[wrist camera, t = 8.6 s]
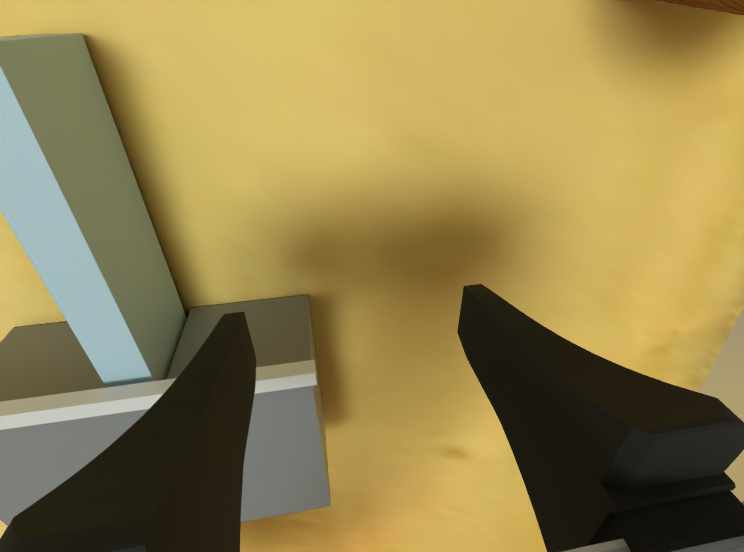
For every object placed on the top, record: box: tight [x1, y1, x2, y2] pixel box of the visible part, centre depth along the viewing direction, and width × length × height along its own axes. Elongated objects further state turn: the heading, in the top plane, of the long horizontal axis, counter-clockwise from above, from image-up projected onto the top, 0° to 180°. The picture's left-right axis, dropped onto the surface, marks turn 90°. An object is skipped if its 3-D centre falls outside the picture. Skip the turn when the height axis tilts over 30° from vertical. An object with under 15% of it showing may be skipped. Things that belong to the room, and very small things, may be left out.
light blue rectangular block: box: [0, 33, 187, 388], centre depth 16 cm, size 14×2×6 cm, turn 1°
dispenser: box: [0, 295, 331, 526], centre depth 22 cm, size 12×16×7 cm
